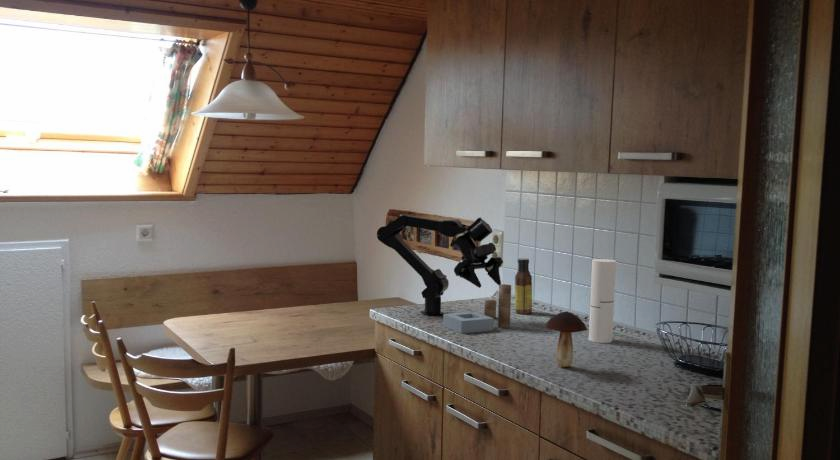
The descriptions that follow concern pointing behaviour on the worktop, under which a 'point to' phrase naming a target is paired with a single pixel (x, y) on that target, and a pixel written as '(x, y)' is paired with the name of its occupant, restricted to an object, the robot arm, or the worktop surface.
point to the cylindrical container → (602, 300)
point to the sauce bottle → (523, 288)
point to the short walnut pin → (490, 308)
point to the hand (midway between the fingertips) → (490, 285)
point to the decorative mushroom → (565, 335)
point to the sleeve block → (468, 322)
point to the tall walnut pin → (504, 306)
